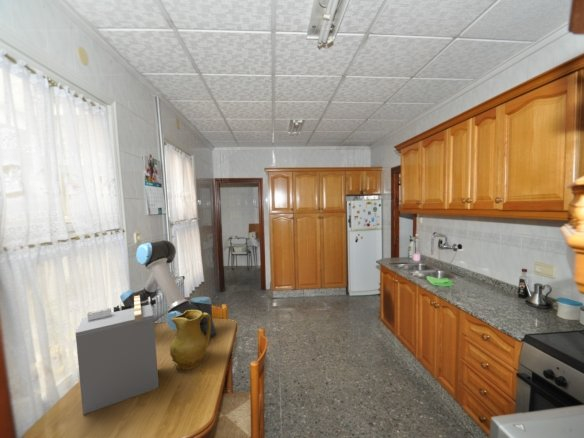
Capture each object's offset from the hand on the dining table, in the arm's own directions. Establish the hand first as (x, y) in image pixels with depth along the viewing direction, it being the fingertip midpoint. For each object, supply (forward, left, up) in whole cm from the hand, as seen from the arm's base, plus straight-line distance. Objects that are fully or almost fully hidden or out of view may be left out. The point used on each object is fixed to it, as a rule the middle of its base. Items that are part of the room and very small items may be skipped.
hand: (134, 302), depth 140 cm
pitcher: (-34, -1, -29) cm, 44 cm away
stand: (-18, +23, -29) cm, 41 cm away
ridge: (-10, +25, +3) cm, 27 cm away
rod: (-19, +15, +3) cm, 24 cm away
